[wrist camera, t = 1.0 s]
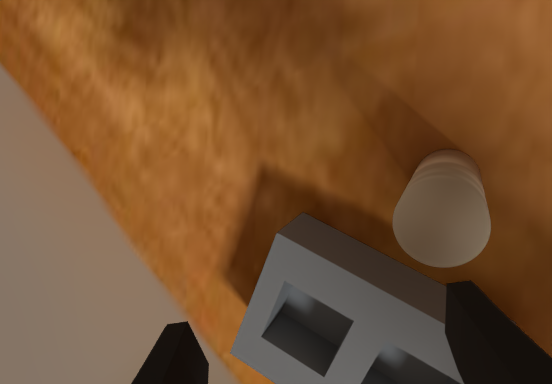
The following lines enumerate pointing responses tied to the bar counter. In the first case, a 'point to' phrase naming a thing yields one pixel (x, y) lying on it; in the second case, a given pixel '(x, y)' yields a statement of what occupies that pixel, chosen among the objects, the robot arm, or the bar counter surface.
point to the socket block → (343, 314)
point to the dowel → (443, 211)
